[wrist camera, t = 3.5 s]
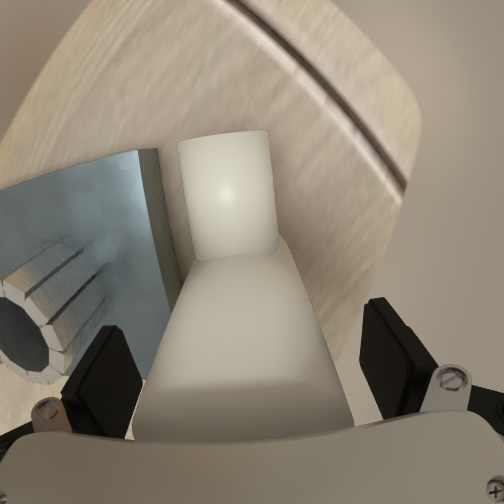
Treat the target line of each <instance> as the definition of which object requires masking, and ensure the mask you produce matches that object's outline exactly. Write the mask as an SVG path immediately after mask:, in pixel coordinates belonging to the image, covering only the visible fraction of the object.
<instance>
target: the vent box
mask: <svg viewBox="0 0 504 504" xmlns="http://www.w3.org/2000/svg"><path fill="white" fill-rule="evenodd" d="M181 289H182V284H181V279H180V275H179V270H178V266H177V261H176V256H175V251H174V246H173V241H172V236H171V231H170V226H169V220H168V215H167V209H166V204H165V198H164V192H163V186H162V180H161V173H160V167H159V160H158V153H157V148H153V149H141V150H134V151H130V152H125V153H121V154H117V155H113V156H109V157H105V158H101V159H97V160H93V161H90V162H86V163H82V164H79V165H75V166H72V167H68V168H65V169H62V170H59V171H55V172H52V173H49V174H46V175H43V176H40V177H37V178H34V179H31V180H28V181H25V182H22V183H20V184H17V185H14V186H11V187H9V188H6V189H4V190H1V191H0V359H1V361H2V362H3V363H4V364H5V365H6V366H7V367H8V366H9V365H10V370H12V371H13V372H15V373H16V374H18V375H19V376H21V377H23V378H24V379H26V380H27V381H30V380H31V382H32V383H37V384H44V385H50V384H51V385H52V384H53V383H55V382H56V381H57V380H59V379H60V378H61V377H63V375H65V376H71V374H72V372H73V371H74V369H75V367H76V366H77V364H78V363H79V361H80V359H81V358H82V356H83V355H84V353H85V352H86V350H87V348H88V347H89V345H90V344H91V342H92V341H93V339H94V338H95V336H96V335H97V333H98V332H99V330H100V329H101V327H102V326H105V325H116V326H117V327H118V328H119V329H122V331H123V333H124V336H125V338H126V341H127V344H128V346H129V349H130V351H131V354H132V356H133V359H134V361H135V364H136V366H137V368H138V371H139V373H140V375H141V378H142V379H147V377H148V375H149V372H150V369H151V366H152V364H153V361H154V358H155V356H156V353H157V350H158V348H159V345H160V342H161V340H162V337H163V335H164V332H165V330H166V327H167V324H168V322H169V319H170V317H171V314H172V312H173V309H174V307H175V304H176V302H177V299H178V297H179V294H180V292H181Z"/></svg>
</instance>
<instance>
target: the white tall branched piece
mask: <svg viewBox="0 0 504 504" xmlns="http://www.w3.org/2000/svg"><path fill="white" fill-rule="evenodd" d="M177 150H178V157H179V164H180V171H181V178H182V184H183V191H184V197H185V203H186V209H187V215H188V221H189V227H190V233H191V238H192V244H193V249H194V255H195V258H194V261H193V263H192V265H191V268H190V270H189V273H188V275H187V277H186V280H185V282H184V285H183V287H182V289H181V292H180V294H179V297H178V299H177V302H176V304H175V307H174V309H173V312H172V314H171V317H170V319H169V322H168V324H167V327H166V330H165V332H164V335H163V337H162V340H161V342H160V345H159V348H158V350H157V353H156V356H155V358H154V361H153V364H152V366H151V369H150V372H149V375H148V377H147V380H146V383H145V386H144V388H143V391H142V394H141V397H140V400H139V403H138V405H137V408H136V411H135V414H134V417H133V422H132V432H133V436H134V439H135V440H139V441H153V442H176V443H220V442H243V441H257V440H268V439H278V438H287V437H295V436H303V435H310V434H316V433H322V432H328V431H334V430H339V429H344V428H349V427H355V426H354V420H353V417H352V414H351V411H350V408H349V405H348V403H347V399H346V397H345V394H344V391H343V388H342V385H341V383H340V380H339V377H338V374H337V371H336V369H335V366H334V363H333V360H332V358H331V355H330V352H329V349H328V347H327V344H326V341H325V339H324V336H323V333H322V331H321V328H320V325H319V323H318V320H317V318H316V315H315V312H314V310H313V307H312V305H311V302H310V299H309V297H308V294H307V292H306V289H305V287H304V284H303V281H302V279H301V276H300V274H299V271H298V269H297V266H296V264H295V261H294V259H293V256H292V254H291V251H290V249H289V247H288V245H287V243H286V241H285V240H284V238H283V237H282V236H281V235H280V234H279V233H278V223H277V213H276V203H275V193H274V183H273V174H272V164H271V155H270V146H269V138H268V131H267V130H258V131H244V132H234V133H226V134H218V135H212V136H205V137H200V138H194V139H189V140H184V141H180V142H177Z"/></svg>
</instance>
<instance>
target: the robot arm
mask: <svg viewBox="0 0 504 504" xmlns="http://www.w3.org/2000/svg"><path fill="white" fill-rule="evenodd" d="M359 362H360V366H361V369H362V371H363V373H364V376H365V378H366V380H367V382H368V385H369V387H370V389H371V391H372V394H373V396H374V398H375V401H376V403H377V405H378V408H379V410H380V412H381V415H382V417H383V420H382V421H377V422H374V423H369V424H364V425H359V426H355V427H349V428H344V429H339V430H334V431H328V432H322V433H316V434H310V435H303V436H295V437H287V438H278V439H268V440H257V441H243V442H220V443H176V442H153V441H139V440H128V439H125V436H126V432H127V429H128V426H129V423H130V420H131V418H132V415H133V412H134V409H135V406H136V403H137V400H138V397H139V394H140V392H141V389H142V385H143V382H142V378H141V375H140V373H139V371H138V368H137V366H136V364H135V361H134V359H133V356H132V354H131V351H130V349H129V346H128V344H127V341H126V338H125V336H124V333H123V331H122V329H119V328H118V327H117V326H116V325H105V326H102V327H101V329H100V330H99V332H98V333H97V335H96V336H95V338H94V339H93V341H92V342H91V344H90V345H89V347H88V348H87V350H86V352H85V353H84V355H83V356H82V358H81V359H80V361H79V363H78V364H77V366H76V367H75V369H74V371H73V372H72V374H71V376H70V377H69V379H68V380H67V382H66V384H65V385H64V387H63V389H62V391H61V392H60V393H61V395H62V398H61V400H60V399H58V398H55V397H48V398H45V399H42V400H41V401H39V402H38V403H37V404H36V405H35V406H34V407H33V409H32V412H31V419H32V421H30V422H28V423H26V424H24V425H22V426H20V427H18V428H16V429H13V430H11V431H9V432H7V433H5V434H3V435H1V436H0V504H504V393H501V392H497V391H494V390H490V389H486V388H482V387H478V386H474V385H472V378H471V375H470V373H469V372H468V371H467V370H466V369H464V368H463V367H461V366H458V365H454V364H447V365H443V366H440V367H439V366H438V364H437V363H436V362H435V360H434V359H433V357H432V356H431V355H430V353H429V352H428V351H427V349H426V348H425V347H424V345H423V344H422V343H421V341H420V340H419V338H418V337H417V336H416V335H415V333H414V332H413V330H412V329H411V328H410V327H408V326H406V325H405V323H404V322H403V321H402V319H401V318H400V317H399V315H398V314H397V313H396V311H395V310H394V309H393V308H392V306H391V305H390V304H389V302H388V301H387V300H386V299H385V298H384V297H380V298H374V299H370V300H369V301H368V303H367V304H365V305H364V314H363V326H362V337H361V347H360V356H359Z"/></svg>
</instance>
